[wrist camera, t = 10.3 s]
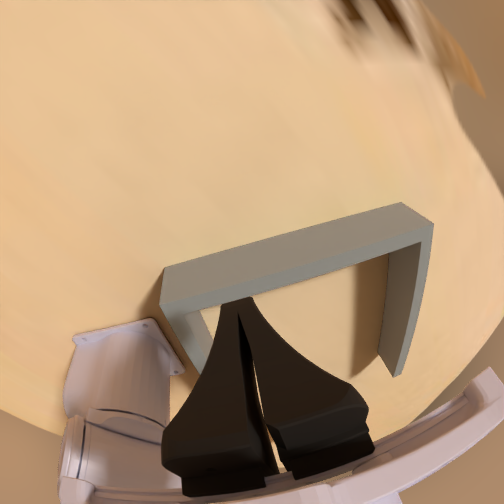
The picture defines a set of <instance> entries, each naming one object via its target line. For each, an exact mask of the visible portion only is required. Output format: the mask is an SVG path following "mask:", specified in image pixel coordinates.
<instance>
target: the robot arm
mask: <svg viewBox="0 0 504 504" xmlns="http://www.w3.org/2000/svg"><path fill="white" fill-rule="evenodd" d="M144 324H147V325H144ZM72 340H73V342H74V343H75V344H76V345H77V346H76V349H75V352H74V355H73V358H72V361H71V364H70V367H69V371H68V374H67V377H66V381H65V384H64V388H63V405H64V409H65V412H66V415H67V417H68V421H67V424H66V427H65V431H64V435H63V440H62V445H61V450H60V457H59V465H58V485H57V490H58V497H59V498H60V500H61V503H60V504H208V503H216V504H402V501H401V499H400V497H399V494H398V493H399V492H401V491H403V490H405V489H407V488H409V487H411V486H412V485H414V484H416V483H417V482H420V481H421V480H423V479H425V478H426V477H428V476H430V475H431V474H433V473H435V472H436V471H438V470H439V469H441V468H442V467H444V466H446V465H447V464H449V463H450V462H451V461H453V460H454V459H456V458H457V457H459V456H460V455H461V454H463V453H464V452H465V451H467V450H468V449H469V448H471V447H472V446H473V445H475V444H476V443H477V442H478V441H480V440H481V439H482V438H483V437H485V436H486V435H487V434H488V433H489V432H491V431H492V430H493V429H494V428H495V427H496V426H497V425H498V424H499V423H500V422H501V421H503V419H504V385H503V383H502V382H501V381H500V380H499V378H498V377H497V375H496V374H495V373H494V372H493V370H492V369H491V368H490V367H487V368H486V369H485V370H484V371H482V372H481V373H480V374H478V375H477V376H476V377H474V378H473V379H472V380H471V381H470V382H469V383H468V384H467V385H466V387H465V388H464V391H463V392H461V393H460V394H459V395H457V396H456V397H454V398H453V399H451V400H450V401H448V402H447V403H445V404H443V405H442V406H440V407H439V408H437V409H436V410H434V411H432V412H430V413H429V414H427V415H425V416H424V417H422V418H420V419H418V420H417V421H415V422H413V423H411V424H409V425H407V426H405V427H404V428H402V429H400V430H398V431H396V432H394V433H392V434H390V435H387V436H385V437H383V438H381V439H379V440H377V441H374V442H372V440H371V438H370V435H369V433H368V432H369V428H368V426H367V424H366V418H367V415H368V412H369V407H368V406H367V404H366V402H365V400H364V399H363V398H362V396H361V395H360V394H359V393H358V391H357V390H356V389H355V388H354V387H353V386H352V385H351V384H349V383H347V382H345V381H343V380H341V379H339V378H337V377H335V376H333V375H331V374H329V373H328V372H326V371H324V370H323V369H321V368H319V367H318V366H316V365H315V364H314V363H312V362H311V361H309V360H308V359H306V358H305V357H304V356H302V355H301V354H300V353H298V352H297V351H296V350H295V349H294V348H292V347H291V346H290V345H289V344H288V343H287V342H286V341H285V340H284V339H283V338H282V337H281V336H280V335H279V334H278V333H277V332H276V331H275V330H274V329H273V328H272V327H271V325H270V324H269V323H268V322H267V320H266V319H265V318H264V317H263V315H262V314H261V312H260V311H259V309H258V308H257V306H256V304H255V302H254V300H253V298H252V297H250V296H249V297H246V298H242V299H238V300H235V301H231V302H227V303H224V304H222V305H221V309H220V316H219V321H218V326H217V330H216V334H215V337H214V341H213V344H212V347H211V350H210V353H209V356H208V358H207V361H206V363H205V366H204V368H203V370H202V373H201V375H200V377H199V379H198V381H197V383H196V384H195V386H194V388H193V390H192V392H191V393H190V395H189V397H188V398H187V400H186V401H185V403H184V404H183V406H182V407H181V409H180V410H179V412H178V413H177V414H176V416H175V417H174V418H173V419H172V421H171V422H170V376H173V375H178V374H183V373H185V367H184V366H183V364H182V363H181V361H180V360H179V358H178V357H177V355H176V353H175V352H174V350H173V349H172V347H171V346H170V344H169V342H168V341H167V339H166V337H165V336H164V334H163V332H162V331H161V329H160V327H159V326H158V324H157V322H156V321H155V320H154V319H152V318H148V319H143V320H139V321H135V322H131V323H127V324H122V325H118V326H113V327H109V328H105V329H100V330H96V331H91V332H86V333H82V334H77V335H74V336H73V338H72ZM253 362H254V364H253ZM254 367H255V371H254ZM255 372H256V377H257V382H258V387H259V392H260V397H261V403H262V409H263V413H262V409H261V406H260V402H259V397H258V392H257V385H256V378H255ZM263 415H264V417H263ZM266 426H267V428H268V430H269V432H270V434H271V436H272V438H273V440H274V442H275V444H276V447H277V450H278V454H279V458H280V461H281V462H282V463H283V465H284V466H285V468H286V470H287V472H285V473H281V474H280V472H279V470H278V466H277V463H276V459H275V456H274V453H273V449H272V446H271V442H270V439H269V435H268V432H267V428H266ZM351 470H353V471H352V475H349V476H346V477H344V478H340V479H337V480H333V481H330V482H326V483H318V484H313V483H316V482H320V481H323V480H326V479H329V478H332V477H334V476H338V475H340V474H343V473H346V472H348V471H351ZM310 484H312V485H310ZM306 485H308V486H306ZM218 502H221V503H218Z"/></svg>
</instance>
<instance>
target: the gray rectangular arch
mask: <svg viewBox="0 0 504 504" xmlns="http://www.w3.org/2000/svg"><path fill="white" fill-rule="evenodd" d="M433 227H434V223H432V222H431V221H429V220H428V219H426V218H425V217H423V216H422V215H420V214H419V213H417V212H416V211H414V210H413V209H411V208H409V207H408V206H406V205H405V204H403V203H402V202H400V203H396V204H393V205H389V206H385V207H381V208H378V209H374V210H370V211H366V212H363V213H359V214H355V215H352V216H348V217H344V218H341V219H337V220H333V221H330V222H326V223H322V224H319V225H315V226H311V227H308V228H304V229H300V230H297V231H293V232H289V233H286V234H282V235H279V236H275V237H271V238H268V239H264V240H261V241H257V242H253V243H250V244H246V245H243V246H239V247H236V248H232V249H229V250H225V251H221V252H218V253H214V254H211V255H207V256H204V257H200V258H197V259H193V260H190V261H186V262H183V263H179V264H176V265H172V266H169V267H165V269H164V275H163V281H162V288H161V295H160V302H159V306H160V308H161V309H162V311H163V313H164V315H165V317H166V319H167V320H168V322H169V324H170V326H171V328H172V329H173V331H174V333H175V335H176V336H177V338H178V340H179V341H180V343H181V345H182V347H183V348H184V350H185V352H186V353H187V355H188V357H189V358H190V360H191V361H192V363H193V365H194V366H195V368H196V369H197V371H198V373H199V374H200V375H201V373H202V370H203V368H204V366H205V363H206V361H207V358H208V356H209V353H210V350H211V347H212V344H213V339H212V337H211V335H210V333H209V330H208V328H207V326H206V324H205V322H204V320H203V317H202V315H201V313H200V311H199V310H201V309H205V308H208V307H212V306H216V305H220V304H223V303H227V302H231V301H234V300H238V299H242V298H245V297H249V296H252V295H256V294H259V293H263V292H266V291H270V290H273V289H277V288H280V287H283V286H287V285H290V284H293V283H297V282H300V281H303V280H307V279H310V278H313V277H316V276H320V275H323V274H326V273H329V272H332V271H335V270H339V269H342V268H345V267H348V266H351V265H354V264H357V263H360V262H363V261H366V260H369V259H372V258H375V257H378V256H381V255H384V254H387V253H389V265H388V277H387V288H386V298H385V306H384V314H383V322H382V329H381V335H380V341H379V347H378V354H379V355H380V357H381V358H382V360H383V362H384V363H385V365H386V367H387V368H388V370H389V372H390V373H391V375H392V377H393V378H394V377H396V376H398V375H400V374H401V373H402V370H403V367H404V364H405V361H406V358H407V355H408V352H409V348H410V345H411V341H412V338H413V334H414V331H415V327H416V323H417V319H418V315H419V311H420V306H421V302H422V297H423V292H424V287H425V282H426V277H427V271H428V265H429V259H430V252H431V244H432V236H433Z"/></svg>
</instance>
